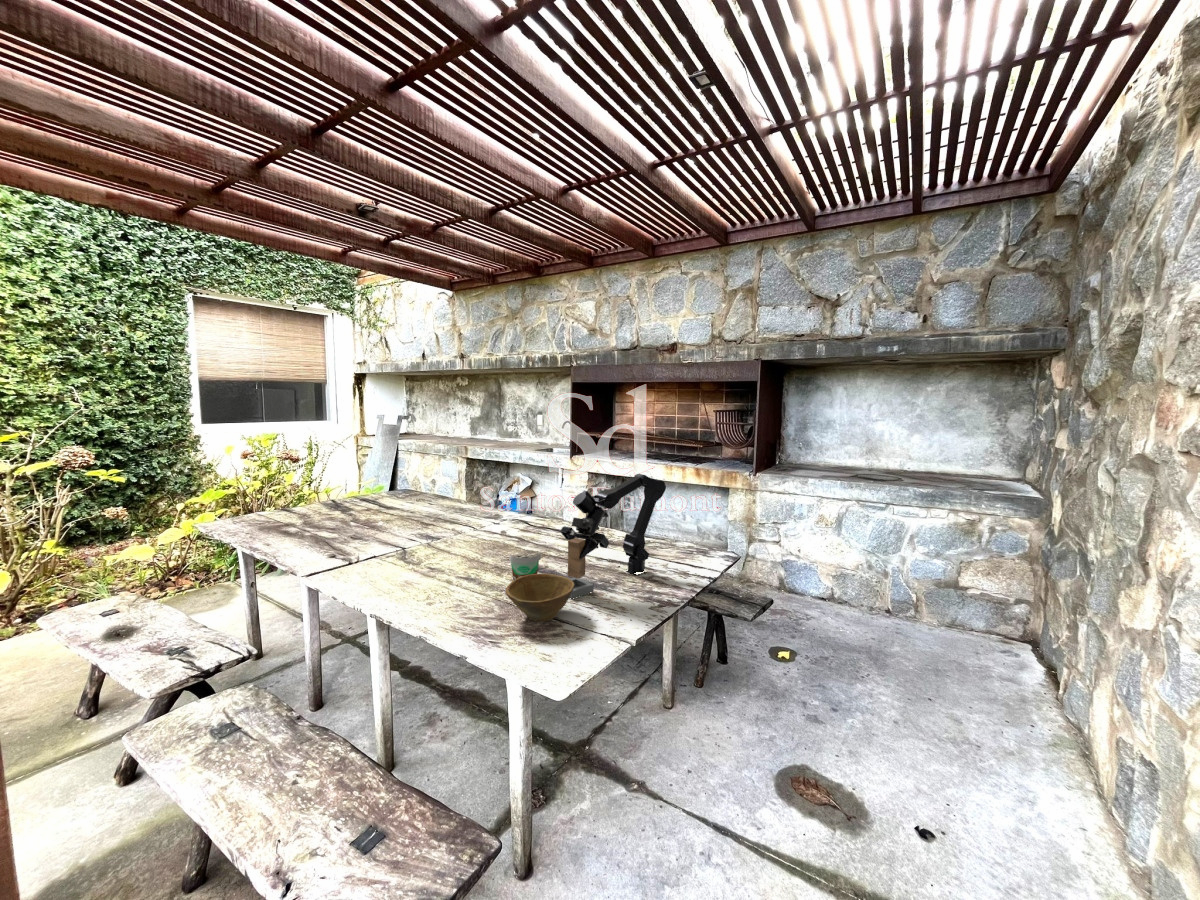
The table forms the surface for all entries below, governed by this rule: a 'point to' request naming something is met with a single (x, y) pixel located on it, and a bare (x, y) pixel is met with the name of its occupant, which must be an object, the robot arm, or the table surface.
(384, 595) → the table surface
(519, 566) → the food container
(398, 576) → the table surface
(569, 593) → the bowl
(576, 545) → the tall wooden post
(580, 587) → the socket
